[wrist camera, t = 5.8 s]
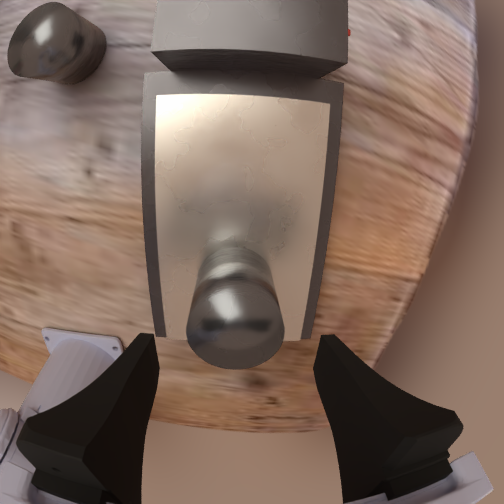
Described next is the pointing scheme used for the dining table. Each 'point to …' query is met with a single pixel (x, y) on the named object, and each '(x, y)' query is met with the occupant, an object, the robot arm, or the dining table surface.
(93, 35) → the ball
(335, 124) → the scale
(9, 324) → the dining table surface
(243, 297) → the cylinder
